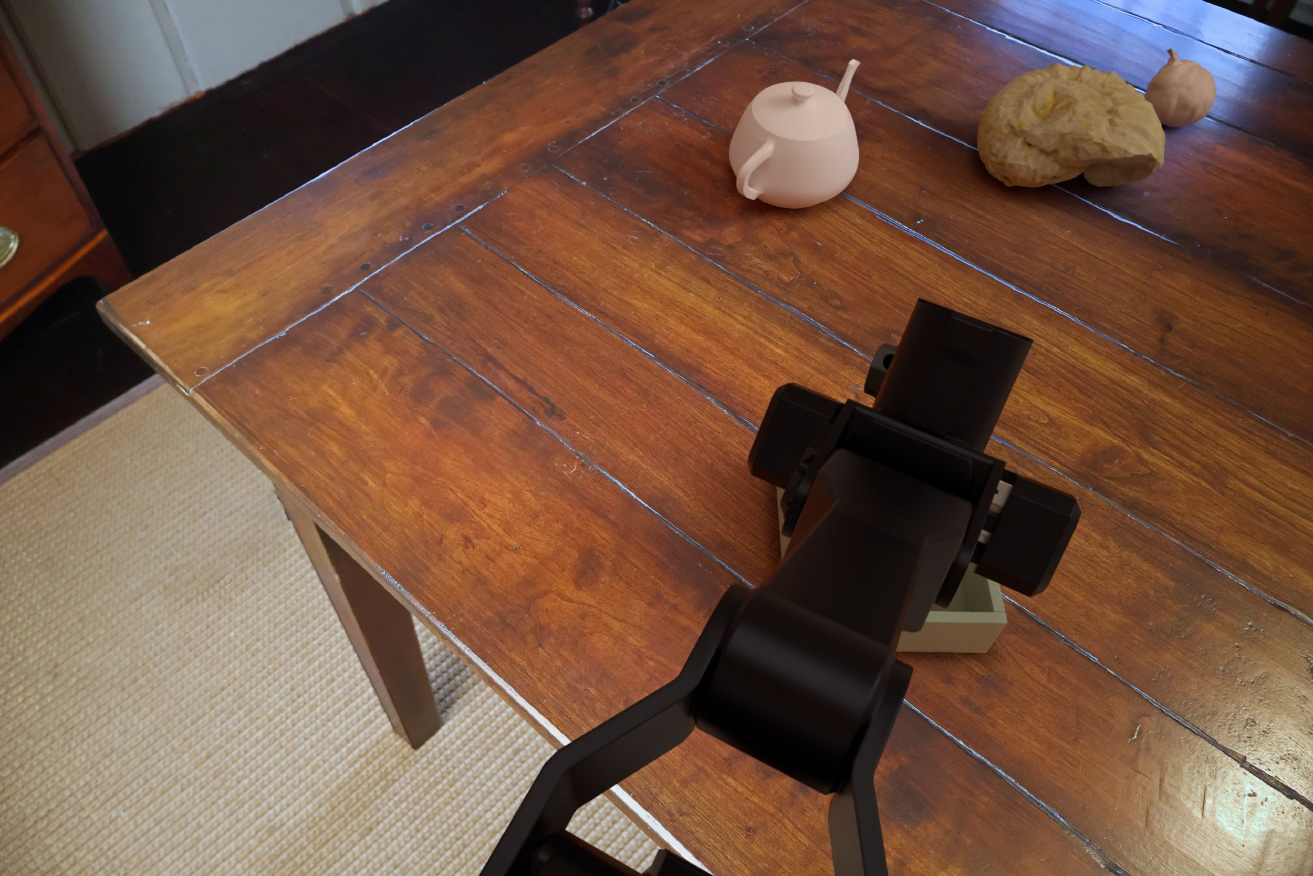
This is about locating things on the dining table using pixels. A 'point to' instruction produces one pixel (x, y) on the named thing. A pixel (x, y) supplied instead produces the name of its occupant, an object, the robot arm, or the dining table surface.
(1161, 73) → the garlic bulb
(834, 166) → the teapot
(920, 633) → the open box
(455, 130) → the dining table surface
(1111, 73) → the seashell
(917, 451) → the robot arm
